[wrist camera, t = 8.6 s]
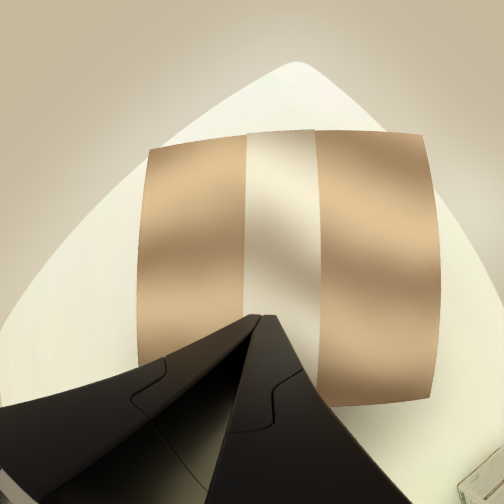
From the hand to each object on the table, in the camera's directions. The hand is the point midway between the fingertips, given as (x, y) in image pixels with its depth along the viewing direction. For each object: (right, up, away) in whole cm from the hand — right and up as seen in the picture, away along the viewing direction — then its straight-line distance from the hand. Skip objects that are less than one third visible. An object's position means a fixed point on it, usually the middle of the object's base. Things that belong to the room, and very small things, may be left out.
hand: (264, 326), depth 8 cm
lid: (+1, +2, +6) cm, 6 cm away
